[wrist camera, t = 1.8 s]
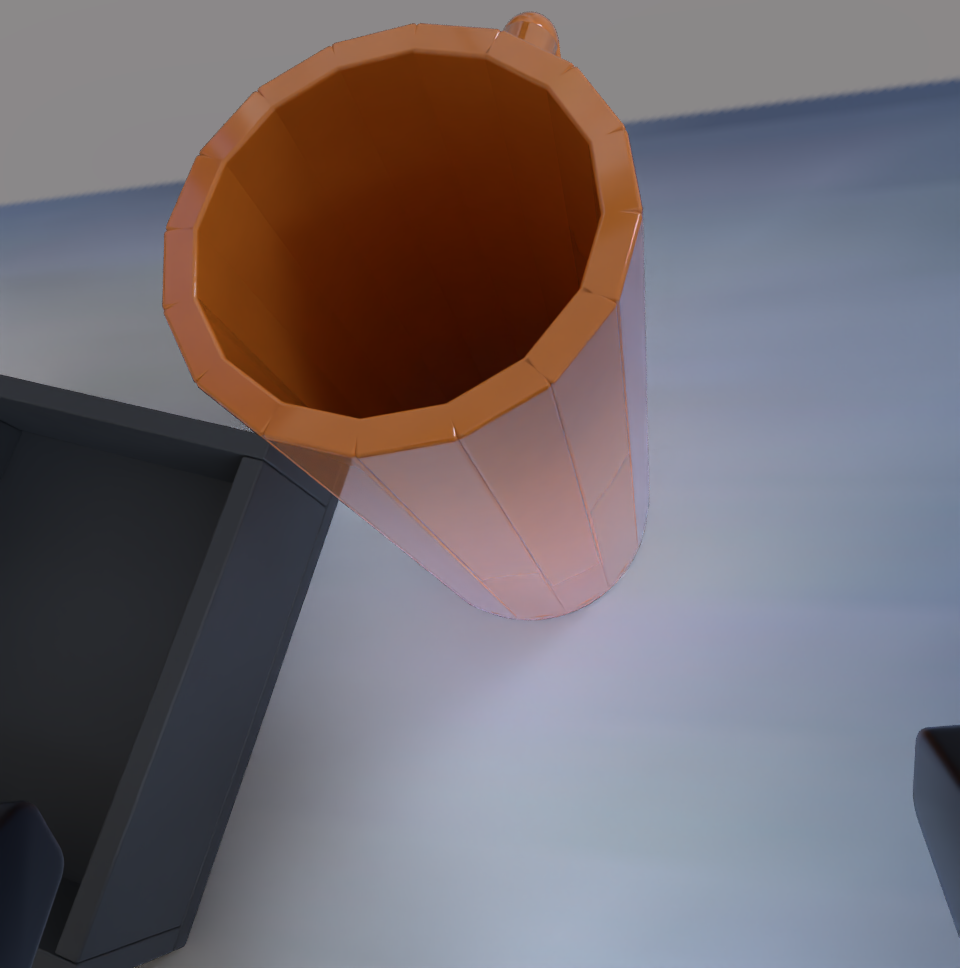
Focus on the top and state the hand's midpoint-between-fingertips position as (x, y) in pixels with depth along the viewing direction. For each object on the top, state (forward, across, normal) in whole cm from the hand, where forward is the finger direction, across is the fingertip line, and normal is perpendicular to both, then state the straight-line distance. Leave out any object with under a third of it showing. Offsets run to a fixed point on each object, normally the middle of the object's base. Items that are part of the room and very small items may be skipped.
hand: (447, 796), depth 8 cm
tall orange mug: (+15, 0, +3) cm, 15 cm away
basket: (+12, +13, +6) cm, 19 cm away
